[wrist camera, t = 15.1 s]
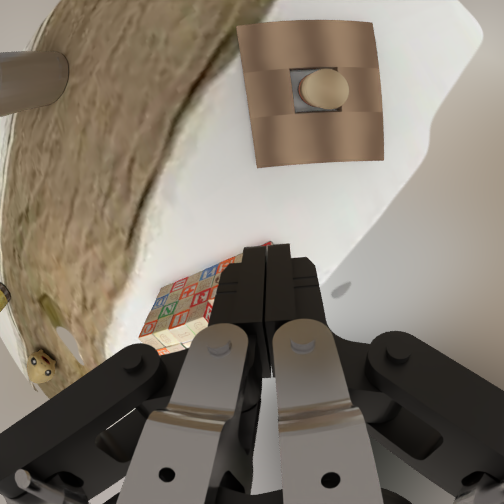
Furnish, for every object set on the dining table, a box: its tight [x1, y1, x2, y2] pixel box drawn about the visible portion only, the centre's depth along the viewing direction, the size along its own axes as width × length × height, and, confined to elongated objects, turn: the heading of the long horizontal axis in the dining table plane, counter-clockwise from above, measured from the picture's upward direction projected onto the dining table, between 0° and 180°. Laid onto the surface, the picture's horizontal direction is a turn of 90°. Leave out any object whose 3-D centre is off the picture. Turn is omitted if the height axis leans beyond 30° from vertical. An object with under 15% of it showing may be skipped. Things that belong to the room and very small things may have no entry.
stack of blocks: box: [139, 242, 273, 355], centre depth 42 cm, size 21×6×12 cm, turn 118°
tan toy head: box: [27, 349, 56, 383], centre depth 62 cm, size 10×12×11 cm
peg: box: [298, 69, 349, 109], centre depth 27 cm, size 4×4×10 cm
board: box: [236, 20, 384, 168], centre depth 30 cm, size 16×18×3 cm
